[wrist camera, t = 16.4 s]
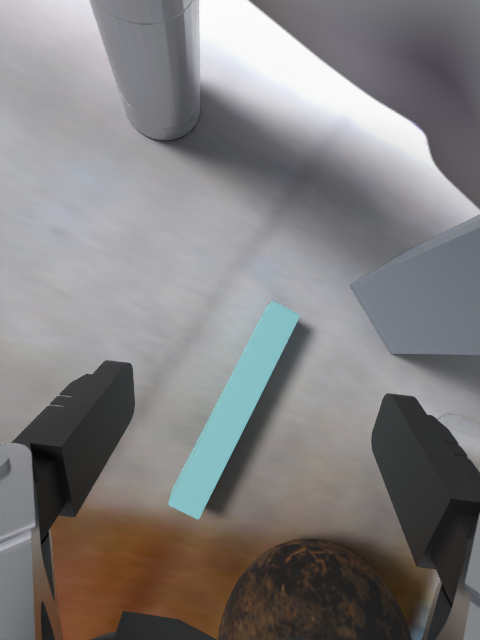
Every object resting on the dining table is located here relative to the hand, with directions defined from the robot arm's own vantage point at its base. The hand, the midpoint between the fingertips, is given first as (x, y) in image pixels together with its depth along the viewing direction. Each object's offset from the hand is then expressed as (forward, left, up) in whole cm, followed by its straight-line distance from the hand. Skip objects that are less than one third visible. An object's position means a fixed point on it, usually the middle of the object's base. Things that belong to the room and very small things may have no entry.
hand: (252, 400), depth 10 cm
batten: (+5, 0, -28) cm, 28 cm away
